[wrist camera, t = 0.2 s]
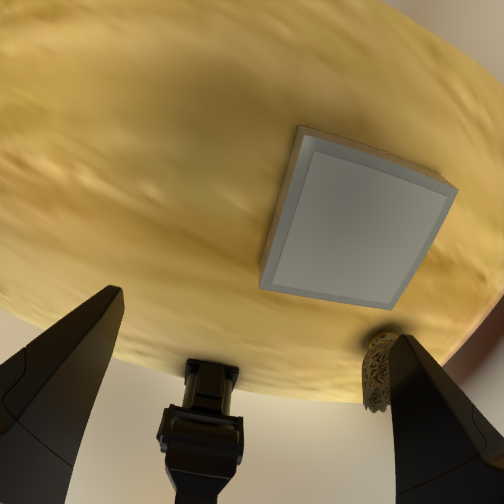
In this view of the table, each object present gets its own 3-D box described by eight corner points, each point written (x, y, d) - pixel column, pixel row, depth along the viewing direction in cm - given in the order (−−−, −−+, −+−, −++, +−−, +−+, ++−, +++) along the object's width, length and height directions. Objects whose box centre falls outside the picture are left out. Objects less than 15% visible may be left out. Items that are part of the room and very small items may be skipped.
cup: (347, 359, 33) (357, 418, 27) (356, 319, 29) (372, 385, 23) (403, 352, 33) (419, 406, 26) (419, 312, 28) (443, 371, 22)
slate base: (382, 287, 27) (391, 311, 24) (259, 264, 26) (258, 289, 23) (439, 174, 20) (459, 190, 17) (299, 125, 19) (304, 135, 16)
